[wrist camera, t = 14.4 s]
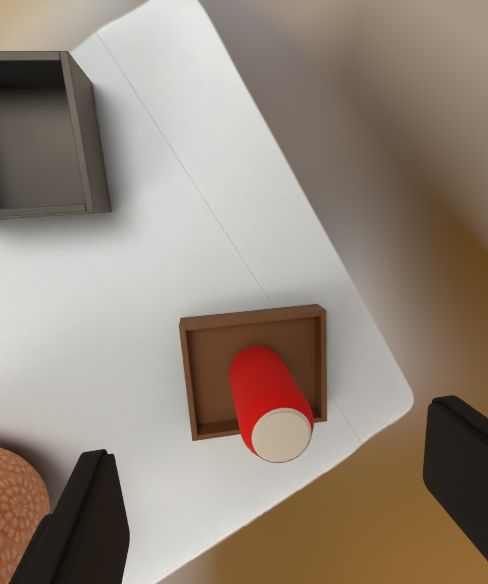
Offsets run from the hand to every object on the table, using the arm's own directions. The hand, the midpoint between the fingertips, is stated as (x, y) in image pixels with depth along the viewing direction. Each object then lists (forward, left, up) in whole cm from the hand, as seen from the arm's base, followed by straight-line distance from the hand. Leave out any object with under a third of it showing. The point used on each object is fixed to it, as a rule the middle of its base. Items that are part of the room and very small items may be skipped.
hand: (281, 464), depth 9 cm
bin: (+15, -14, -26) cm, 33 cm away
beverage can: (-3, +10, -26) cm, 27 cm away
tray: (-3, +10, -26) cm, 28 cm away
